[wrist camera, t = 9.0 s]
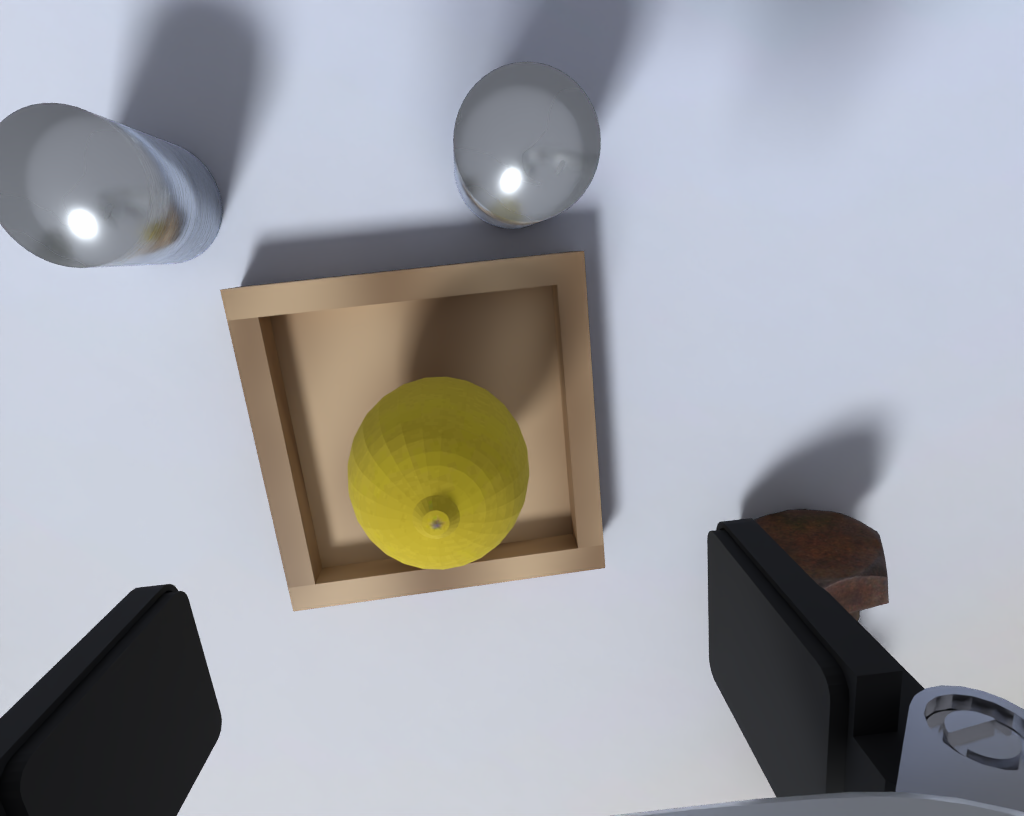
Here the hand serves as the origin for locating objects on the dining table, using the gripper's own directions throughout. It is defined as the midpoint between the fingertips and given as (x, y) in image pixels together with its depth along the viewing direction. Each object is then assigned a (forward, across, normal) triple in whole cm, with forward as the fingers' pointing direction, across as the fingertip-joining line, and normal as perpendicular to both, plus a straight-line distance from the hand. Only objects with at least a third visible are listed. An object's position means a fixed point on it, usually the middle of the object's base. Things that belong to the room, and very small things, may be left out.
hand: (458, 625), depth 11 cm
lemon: (+12, +1, 0) cm, 12 cm away
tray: (+13, +2, 0) cm, 13 cm away
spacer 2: (+13, -2, -9) cm, 16 cm away
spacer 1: (+12, +10, -9) cm, 18 cm away
